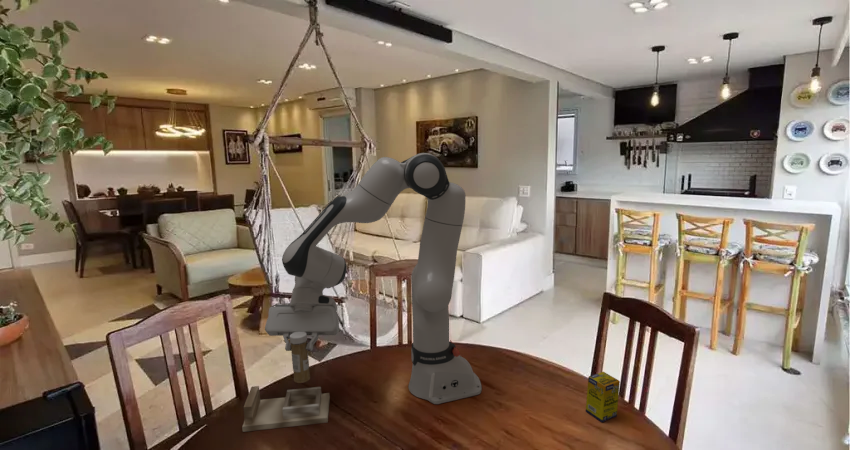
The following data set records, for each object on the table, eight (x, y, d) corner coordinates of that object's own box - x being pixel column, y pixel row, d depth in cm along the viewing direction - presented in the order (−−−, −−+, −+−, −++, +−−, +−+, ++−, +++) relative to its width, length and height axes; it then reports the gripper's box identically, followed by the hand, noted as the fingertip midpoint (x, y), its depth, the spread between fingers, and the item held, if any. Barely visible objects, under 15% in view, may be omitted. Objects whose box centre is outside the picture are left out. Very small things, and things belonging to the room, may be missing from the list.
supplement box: (602, 423, 118) (605, 386, 116) (585, 411, 123) (587, 375, 121) (617, 416, 121) (620, 380, 119) (600, 405, 126) (602, 370, 124)
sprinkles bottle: (312, 380, 122) (309, 334, 119) (296, 385, 119) (292, 339, 117) (307, 373, 125) (303, 329, 123) (291, 378, 123) (287, 333, 121)
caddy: (329, 397, 131) (328, 377, 130) (327, 422, 120) (326, 400, 118) (252, 405, 128) (250, 384, 126) (242, 431, 116) (240, 409, 115)
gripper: (267, 299, 125) (257, 346, 118) (338, 298, 125) (333, 346, 117) (273, 307, 130) (264, 354, 123) (342, 307, 130) (337, 353, 123)
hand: (298, 350), depth 120 cm, fingers closed on sprinkles bottle, 4 cm apart
